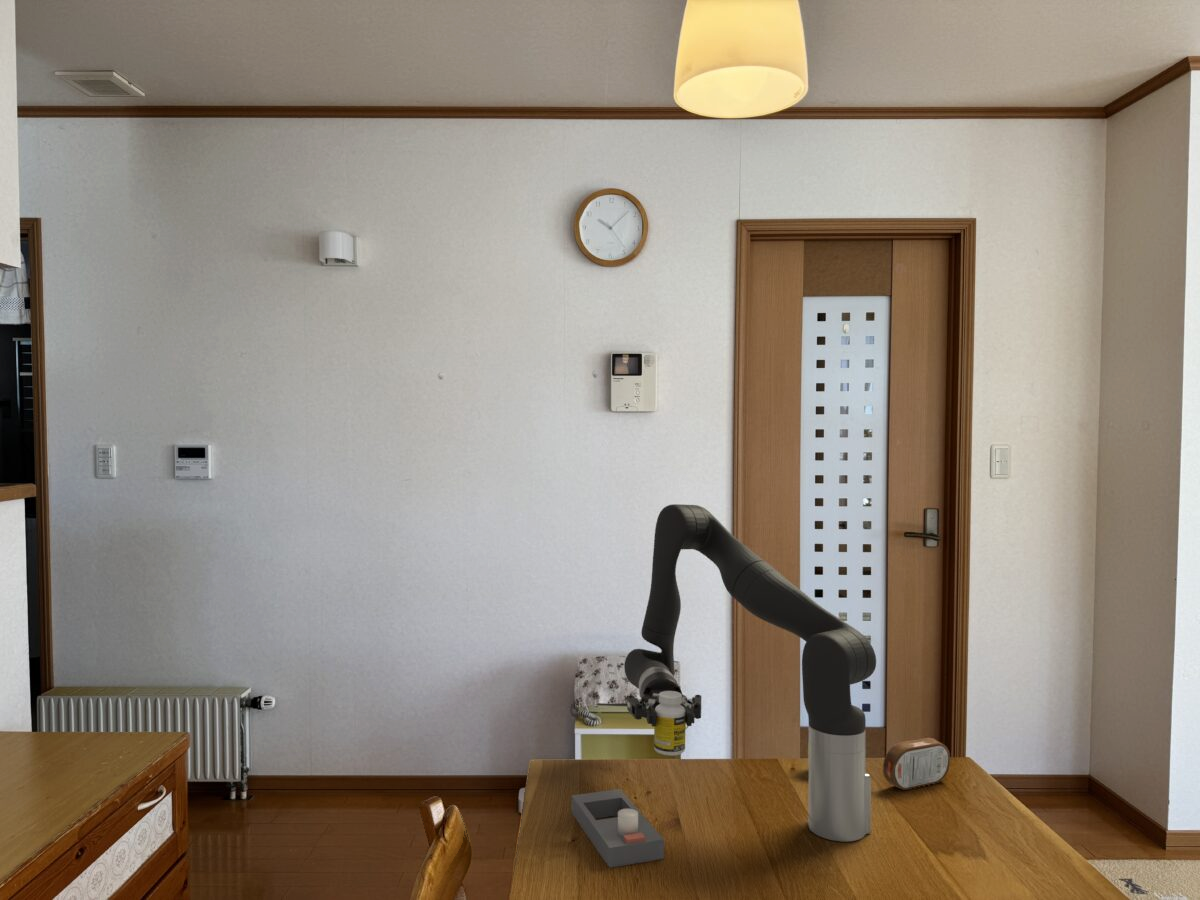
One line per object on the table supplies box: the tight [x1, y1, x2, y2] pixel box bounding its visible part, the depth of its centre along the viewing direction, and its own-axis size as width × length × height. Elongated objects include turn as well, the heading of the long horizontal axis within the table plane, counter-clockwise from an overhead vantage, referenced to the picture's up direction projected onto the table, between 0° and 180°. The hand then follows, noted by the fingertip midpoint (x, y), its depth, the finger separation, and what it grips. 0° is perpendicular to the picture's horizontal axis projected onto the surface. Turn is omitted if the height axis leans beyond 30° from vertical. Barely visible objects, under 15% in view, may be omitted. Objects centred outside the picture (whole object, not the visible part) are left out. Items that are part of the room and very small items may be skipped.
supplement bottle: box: [653, 691, 687, 756], centre depth 138 cm, size 5×5×10 cm
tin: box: [882, 737, 951, 791], centre depth 152 cm, size 15×3×8 cm, turn 114°
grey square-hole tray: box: [571, 788, 665, 869], centre depth 132 cm, size 9×20×6 cm, turn 19°
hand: (672, 720), depth 135 cm, fingers closed on supplement bottle, 5 cm apart
